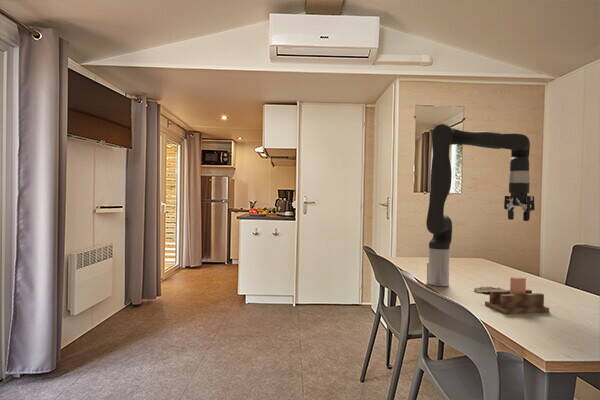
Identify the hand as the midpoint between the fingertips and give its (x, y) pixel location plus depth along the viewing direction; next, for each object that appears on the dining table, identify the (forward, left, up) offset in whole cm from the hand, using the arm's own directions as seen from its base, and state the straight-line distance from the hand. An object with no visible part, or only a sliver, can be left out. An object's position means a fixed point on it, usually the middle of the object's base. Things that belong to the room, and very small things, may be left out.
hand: (518, 220), depth 157 cm
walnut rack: (+12, -18, -32) cm, 39 cm away
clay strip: (+12, -17, -31) cm, 37 cm away
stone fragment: (-4, -2, -33) cm, 33 cm away
